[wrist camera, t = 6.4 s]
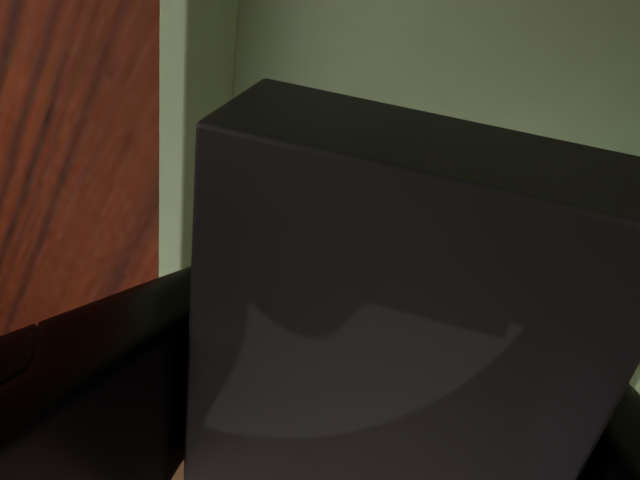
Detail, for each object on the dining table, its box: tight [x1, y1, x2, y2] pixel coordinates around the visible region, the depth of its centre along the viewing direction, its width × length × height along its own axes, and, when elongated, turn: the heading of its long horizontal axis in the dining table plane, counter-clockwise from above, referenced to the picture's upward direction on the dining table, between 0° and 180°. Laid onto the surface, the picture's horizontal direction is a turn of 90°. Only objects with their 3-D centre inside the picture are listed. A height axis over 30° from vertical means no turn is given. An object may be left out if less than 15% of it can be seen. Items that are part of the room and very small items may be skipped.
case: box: [159, 0, 640, 394], centre depth 12 cm, size 11×11×3 cm
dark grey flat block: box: [184, 78, 640, 480], centre depth 7 cm, size 4×7×2 cm, turn 172°
